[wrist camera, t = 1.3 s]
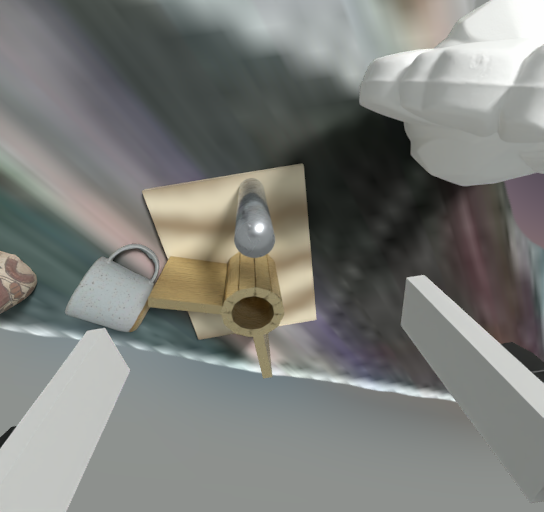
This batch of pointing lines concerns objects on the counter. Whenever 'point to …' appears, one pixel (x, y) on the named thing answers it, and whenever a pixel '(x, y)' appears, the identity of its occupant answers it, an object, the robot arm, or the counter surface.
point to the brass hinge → (226, 295)
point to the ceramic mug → (113, 293)
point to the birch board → (221, 230)
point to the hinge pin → (253, 221)
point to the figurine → (14, 281)
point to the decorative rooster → (470, 95)
